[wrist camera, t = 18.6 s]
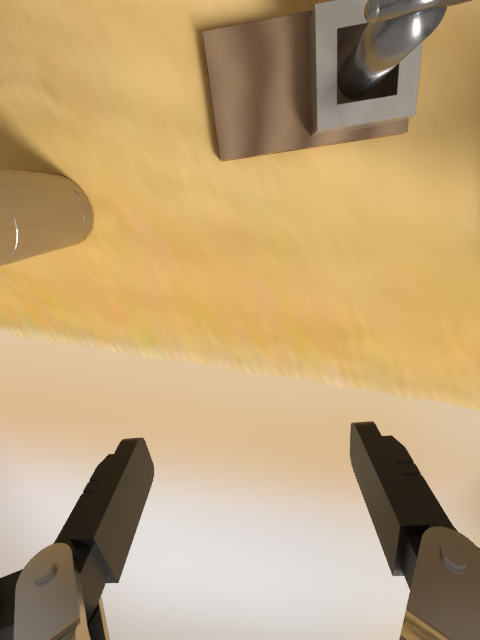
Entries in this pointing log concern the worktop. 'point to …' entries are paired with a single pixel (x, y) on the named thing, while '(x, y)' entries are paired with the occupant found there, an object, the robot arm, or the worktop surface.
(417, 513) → the robot arm
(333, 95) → the stand
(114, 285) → the worktop surface
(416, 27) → the chuck key
